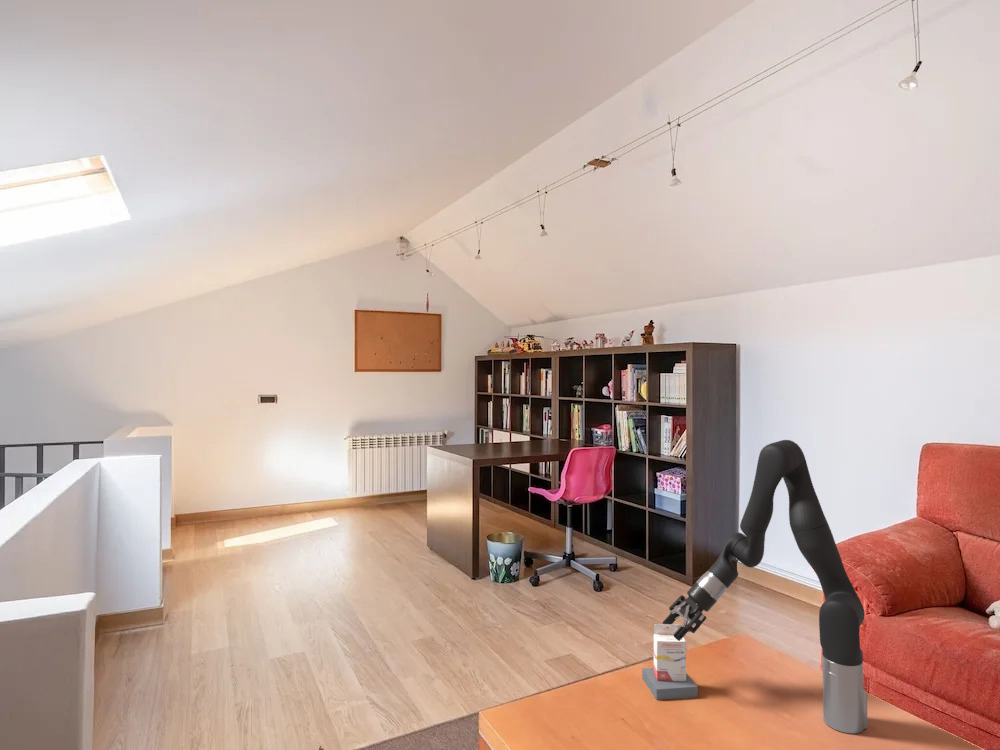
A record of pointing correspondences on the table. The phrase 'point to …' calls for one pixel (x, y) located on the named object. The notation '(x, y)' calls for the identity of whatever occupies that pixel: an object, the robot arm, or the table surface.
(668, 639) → the ink cartridge box
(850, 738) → the table surface
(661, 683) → the slate plate
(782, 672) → the table surface
